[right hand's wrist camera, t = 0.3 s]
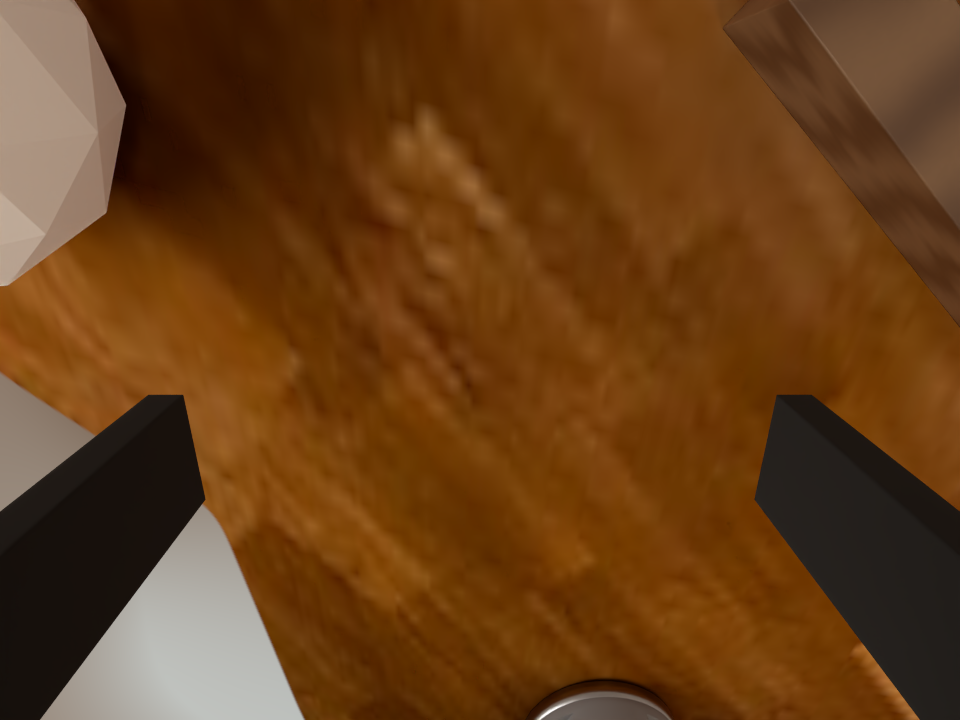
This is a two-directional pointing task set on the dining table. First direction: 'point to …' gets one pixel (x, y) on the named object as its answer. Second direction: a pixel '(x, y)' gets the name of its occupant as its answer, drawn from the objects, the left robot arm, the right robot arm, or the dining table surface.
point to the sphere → (52, 130)
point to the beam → (875, 110)
